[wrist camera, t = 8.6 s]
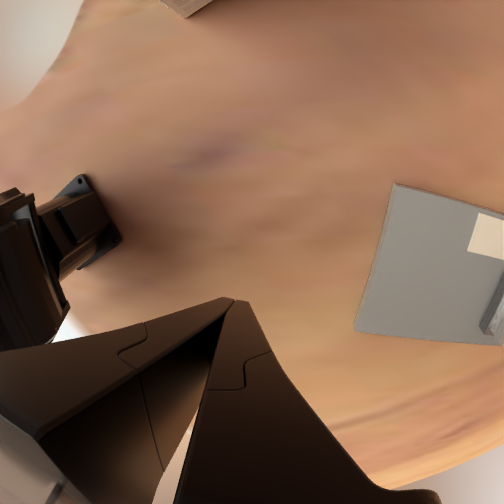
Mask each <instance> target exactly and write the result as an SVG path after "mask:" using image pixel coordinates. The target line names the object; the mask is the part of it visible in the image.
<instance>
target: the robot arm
mask: <svg viewBox="0 0 504 504" xmlns="http://www.w3.org/2000/svg"><path fill="white" fill-rule="evenodd" d="M81 179H82V182H81ZM34 201H35V197H34V193H31V194H27V195H25V193H21V192H20V191H19V190H18V189H17V188H16V187H15V188H12V189H10V190H7V191H5V192H3V193H0V504H152V502H153V499H154V496H155V492H156V489H157V486H158V484H159V481H160V479H161V477H162V475H163V472H165V470H166V468H167V466H168V464H169V462H170V460H171V459H172V457H173V455H174V453H175V451H176V449H177V447H178V445H179V443H180V442H181V440H182V438H183V436H184V434H185V432H186V430H187V428H188V426H189V424H190V423H191V421H192V419H193V417H194V415H195V413H196V411H197V409H198V407H199V409H198V413H197V416H196V420H195V423H194V427H193V431H192V434H191V438H190V442H189V445H188V449H187V453H186V457H185V460H184V464H183V468H182V471H181V475H180V479H179V483H178V486H177V490H176V494H175V498H174V501H173V504H442V503H441V500H440V498H439V496H438V494H437V493H436V492H434V491H432V490H428V489H413V490H396V491H395V490H388V489H384V488H382V487H380V486H378V485H376V484H374V483H373V482H372V481H371V480H370V479H369V478H368V477H367V476H366V474H365V473H364V472H363V471H362V470H361V468H360V467H359V466H358V465H357V464H356V462H355V461H354V460H353V459H352V458H351V456H350V455H349V454H348V453H347V452H346V450H345V449H344V448H343V447H342V445H341V444H340V443H339V442H338V441H337V439H336V438H335V437H334V436H333V434H332V433H331V432H330V431H329V429H328V428H327V427H326V426H325V424H324V423H323V422H322V421H321V419H320V418H319V417H318V416H317V414H316V413H315V412H314V411H313V409H312V408H311V407H310V405H309V404H308V403H307V402H306V400H305V399H304V398H303V396H302V395H301V394H300V393H299V391H298V390H297V389H296V387H295V386H294V385H293V383H292V382H291V381H290V379H289V378H288V376H287V375H286V374H285V372H284V371H283V369H282V367H281V366H280V364H279V362H278V360H277V358H276V356H275V354H274V353H273V351H272V349H271V347H270V345H269V343H268V341H267V339H266V337H265V335H264V333H263V331H262V329H261V326H260V324H259V322H258V320H257V318H256V316H255V314H254V312H253V310H252V308H251V306H250V304H249V302H247V301H241V300H236V301H235V300H234V299H231V298H226V297H221V298H218V299H215V300H212V301H209V302H206V303H203V304H200V305H197V306H193V307H190V308H187V309H184V310H181V311H178V312H175V313H172V314H169V315H165V316H162V317H159V318H156V319H153V320H149V321H146V322H144V323H143V322H141V323H138V324H135V325H132V326H128V327H125V328H121V329H117V330H113V331H109V332H104V333H100V334H95V335H90V336H85V337H80V338H75V339H70V340H65V341H59V342H54V343H51V342H52V341H53V339H54V337H55V336H56V334H57V332H58V330H59V328H60V326H61V324H62V322H63V321H64V319H65V317H66V315H67V313H68V311H69V310H70V308H71V307H70V305H69V302H68V301H67V300H66V298H65V295H64V293H63V290H62V288H61V285H60V282H61V281H62V280H63V279H64V278H66V277H67V276H68V275H69V274H70V273H72V272H73V271H74V270H76V269H77V270H81V269H82V268H84V267H85V266H87V265H88V264H90V263H91V262H93V261H94V260H96V259H97V258H99V257H100V256H102V255H104V254H105V253H107V252H108V251H110V250H111V249H113V248H115V247H116V246H118V245H119V244H120V243H121V242H122V237H121V235H120V234H119V232H118V230H117V229H116V227H115V225H114V224H113V222H112V220H111V219H110V217H109V215H108V214H107V212H106V210H105V208H104V207H103V205H102V203H101V202H100V200H99V198H98V196H97V195H96V193H95V191H94V189H93V187H92V186H91V184H90V182H89V180H88V178H87V177H86V175H84V174H80V175H78V176H76V177H75V178H74V179H73V180H72V181H71V182H70V183H69V184H68V185H67V186H66V187H65V188H64V189H63V190H62V191H61V192H60V193H59V194H58V195H57V196H56V197H55V198H54V199H53V200H51V201H49V202H47V203H45V204H43V205H41V206H39V207H37V208H36V207H35V203H34ZM114 237H115V238H116V239H117V241H116V240H115V239H114Z"/></svg>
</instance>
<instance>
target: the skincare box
mask: <svg viewBox="0 0 504 504" xmlns="http://www.w3.org/2000/svg"><path fill="white" fill-rule="evenodd" d="M158 1H159V2H161V3H162V4H164V5H165V6H167V7H168V8H170V9H171V10H173V11H174V12H175V13H177V14H178V15H180V16H181V17H183V18H187V17H188V16H190V15H191V14H193V13H194V12H196V11H197V10H199V9H200V8H202V7H203V6H205V5H206V4H208V3H210V2H211V1H213V0H158Z"/></svg>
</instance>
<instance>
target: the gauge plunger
mask: <svg viewBox="0 0 504 504" xmlns="http://www.w3.org/2000/svg"><path fill="white" fill-rule="evenodd" d="M479 328H480V329H481V331H482V333H483V334H484V335H491V336H495V338H496V339H497V341H498V343H499V344H500V346H501V348H502V349H503V351H504V272H503V274H502V277H501V279H500V281H499V284H498V286H497V288H496V291H495V293H494V295H493V297H492V300H491V302H490V304H489V306H488V308H487V310H486V312H485V314H484V316H483V318H482V320H481V322H480V324H479Z"/></svg>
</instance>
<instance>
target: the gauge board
mask: <svg viewBox="0 0 504 504" xmlns="http://www.w3.org/2000/svg"><path fill="white" fill-rule="evenodd" d="M503 272H504V214H503V213H500V212H497V211H494V210H491V209H488V208H485V207H481V206H478V205H475V204H472V203H468V202H465V201H462V200H458V199H455V198H451V197H448V196H444V195H440V194H437V193H433V192H429V191H425V190H422V189H418V188H414V187H410V186H405V185H401V184H397V183H393V186H392V191H391V195H390V200H389V204H388V208H387V212H386V216H385V221H384V224H383V228H382V232H381V236H380V240H379V244H378V247H377V251H376V254H375V258H374V261H373V265H372V268H371V272H370V275H369V278H368V281H367V285H366V288H365V291H364V294H363V297H362V300H361V303H360V306H359V309H358V312H357V315H356V318H355V321H354V329H355V331H356V332H363V333H371V334H379V335H387V336H395V337H404V338H413V339H423V340H433V341H443V342H455V343H468V344H482V345H498V346H500V344H499V343H498V341H497V339H496V338H495V336H491V335H484V334H483V333H482V331H481V329H480V328H479V324H480V322H481V320H482V318H483V316H484V314H485V312H486V310H487V308H488V306H489V304H490V302H491V300H492V297H493V295H494V293H495V291H496V288H497V286H498V284H499V281H500V279H501V277H502V274H503Z"/></svg>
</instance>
